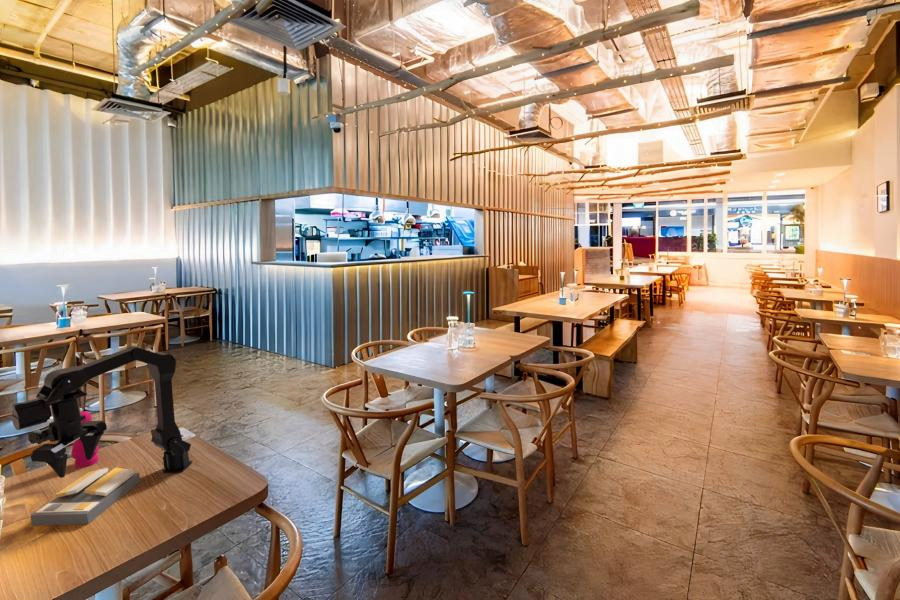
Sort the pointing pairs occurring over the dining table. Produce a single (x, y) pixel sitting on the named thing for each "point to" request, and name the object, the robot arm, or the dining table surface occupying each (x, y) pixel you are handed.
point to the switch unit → (80, 505)
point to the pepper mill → (79, 450)
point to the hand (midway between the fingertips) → (76, 468)
